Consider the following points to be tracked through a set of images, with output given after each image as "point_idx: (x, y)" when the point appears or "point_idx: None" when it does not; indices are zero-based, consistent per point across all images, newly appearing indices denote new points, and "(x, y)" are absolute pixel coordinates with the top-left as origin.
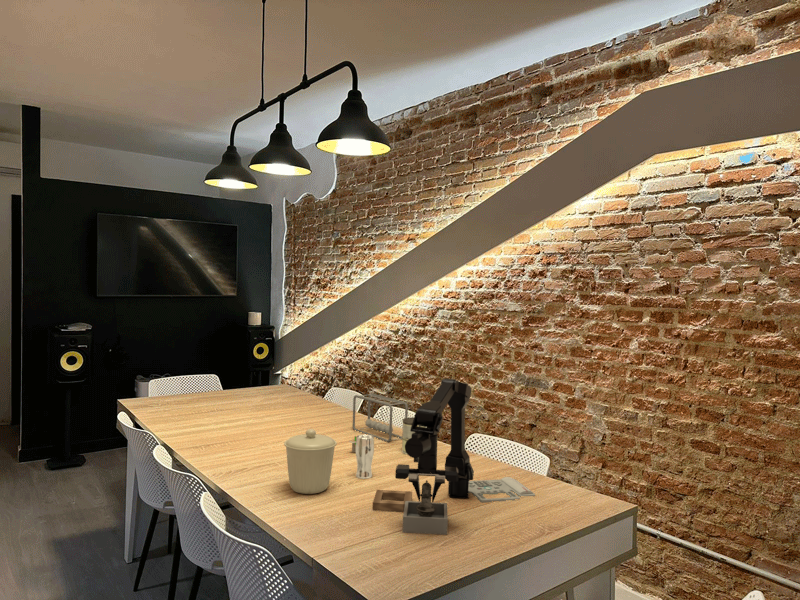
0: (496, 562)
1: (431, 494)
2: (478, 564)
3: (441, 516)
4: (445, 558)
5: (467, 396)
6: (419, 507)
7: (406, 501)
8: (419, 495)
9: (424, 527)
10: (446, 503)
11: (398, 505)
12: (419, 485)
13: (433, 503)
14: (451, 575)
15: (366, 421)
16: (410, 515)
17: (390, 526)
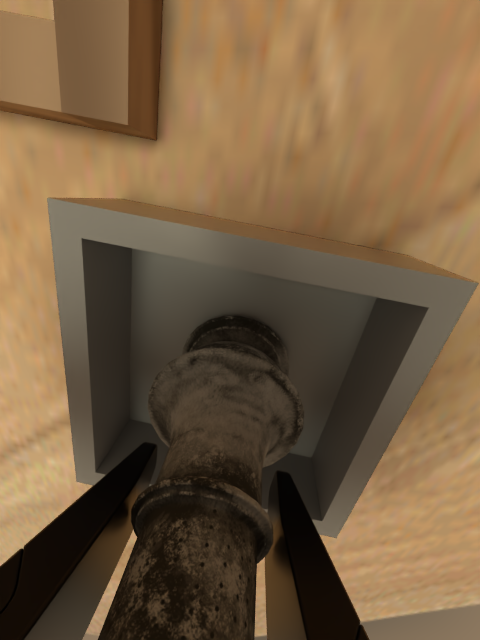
0: (412, 612)
1: (269, 529)
2: None
3: (361, 298)
4: (261, 576)
5: None
6: (169, 433)
7: (59, 217)
8: (116, 551)
9: None
10: (466, 291)
11: (28, 109)
12: (29, 637)
13: (325, 285)
14: (256, 626)
15: None
16: (149, 267)
17: (59, 354)
